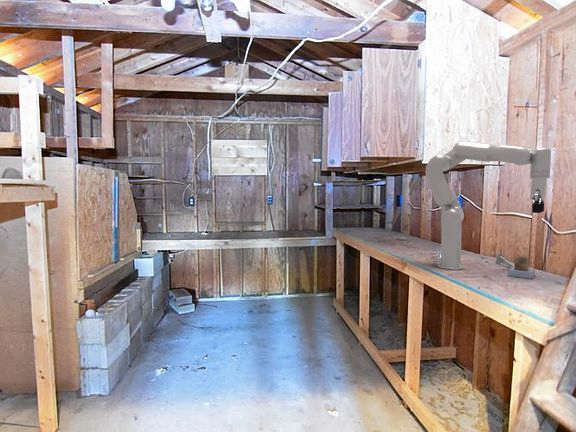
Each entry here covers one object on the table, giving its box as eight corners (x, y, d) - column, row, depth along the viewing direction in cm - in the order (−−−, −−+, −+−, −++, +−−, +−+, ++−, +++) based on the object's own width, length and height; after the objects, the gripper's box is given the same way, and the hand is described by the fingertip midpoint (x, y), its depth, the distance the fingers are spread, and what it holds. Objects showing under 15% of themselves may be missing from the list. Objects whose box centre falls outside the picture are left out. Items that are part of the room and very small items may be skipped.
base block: (507, 276, 165) (507, 269, 164) (511, 272, 171) (511, 266, 171) (531, 279, 158) (532, 272, 158) (534, 275, 165) (535, 269, 165)
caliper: (495, 263, 194) (496, 252, 194) (497, 263, 194) (498, 252, 194) (519, 272, 174) (519, 259, 173) (521, 272, 174) (521, 259, 173)
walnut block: (514, 269, 165) (514, 257, 164) (516, 268, 168) (516, 255, 168) (526, 271, 161) (527, 258, 161) (528, 269, 165) (529, 257, 164)
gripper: (532, 176, 169) (531, 211, 170) (526, 174, 156) (525, 212, 158) (552, 175, 164) (550, 211, 165) (547, 174, 151) (545, 213, 153)
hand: (538, 212), depth 162 cm, fingers open, 9 cm apart
